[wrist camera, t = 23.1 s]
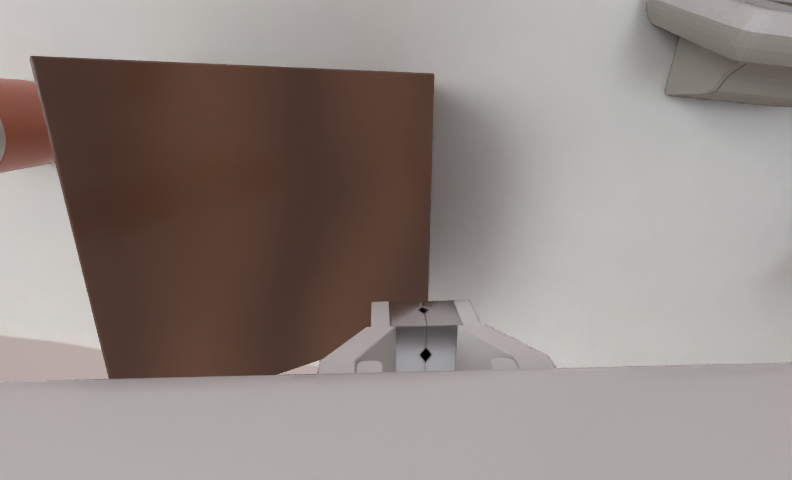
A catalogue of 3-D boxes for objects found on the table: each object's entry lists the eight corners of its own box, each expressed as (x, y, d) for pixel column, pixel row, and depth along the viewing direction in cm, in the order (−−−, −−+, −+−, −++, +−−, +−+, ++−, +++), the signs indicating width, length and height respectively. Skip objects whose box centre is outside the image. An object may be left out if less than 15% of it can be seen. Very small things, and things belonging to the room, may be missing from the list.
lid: (120, 417, 20) (120, 428, 20) (31, 57, 15) (28, 55, 15) (420, 318, 29) (428, 323, 29) (426, 74, 24) (434, 73, 24)
